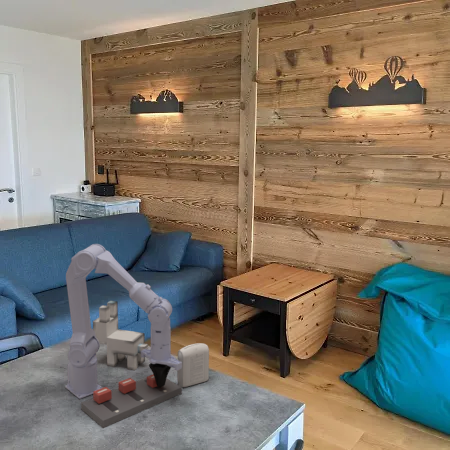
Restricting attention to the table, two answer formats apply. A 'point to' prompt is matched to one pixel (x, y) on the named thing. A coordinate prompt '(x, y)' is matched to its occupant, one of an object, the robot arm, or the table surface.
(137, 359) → the toy llama
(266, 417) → the table surface
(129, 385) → the switch
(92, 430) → the table surface
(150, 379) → the switch
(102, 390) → the switch
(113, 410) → the slider switch panel
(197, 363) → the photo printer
